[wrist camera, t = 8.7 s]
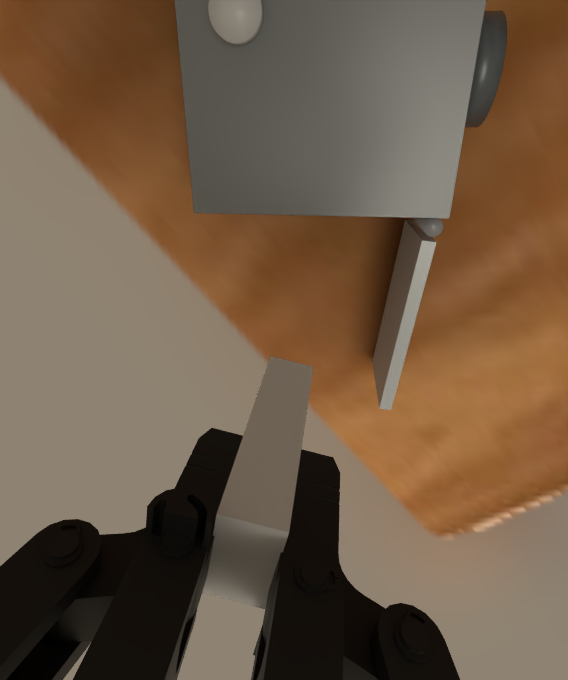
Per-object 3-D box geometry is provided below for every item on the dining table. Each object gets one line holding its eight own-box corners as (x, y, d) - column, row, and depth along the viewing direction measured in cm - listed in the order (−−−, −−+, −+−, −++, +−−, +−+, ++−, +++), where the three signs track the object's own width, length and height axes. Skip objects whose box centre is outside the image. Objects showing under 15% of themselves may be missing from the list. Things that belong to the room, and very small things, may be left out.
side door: (405, 219, 29) (422, 240, 23) (423, 222, 29) (445, 243, 23) (372, 361, 35) (379, 408, 29) (387, 363, 35) (398, 411, 28)
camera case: (481, -20, 24) (551, -99, 16) (443, 215, 29) (480, 243, 22) (216, -10, 25) (161, -76, 18) (228, 211, 31) (191, 235, 23)
